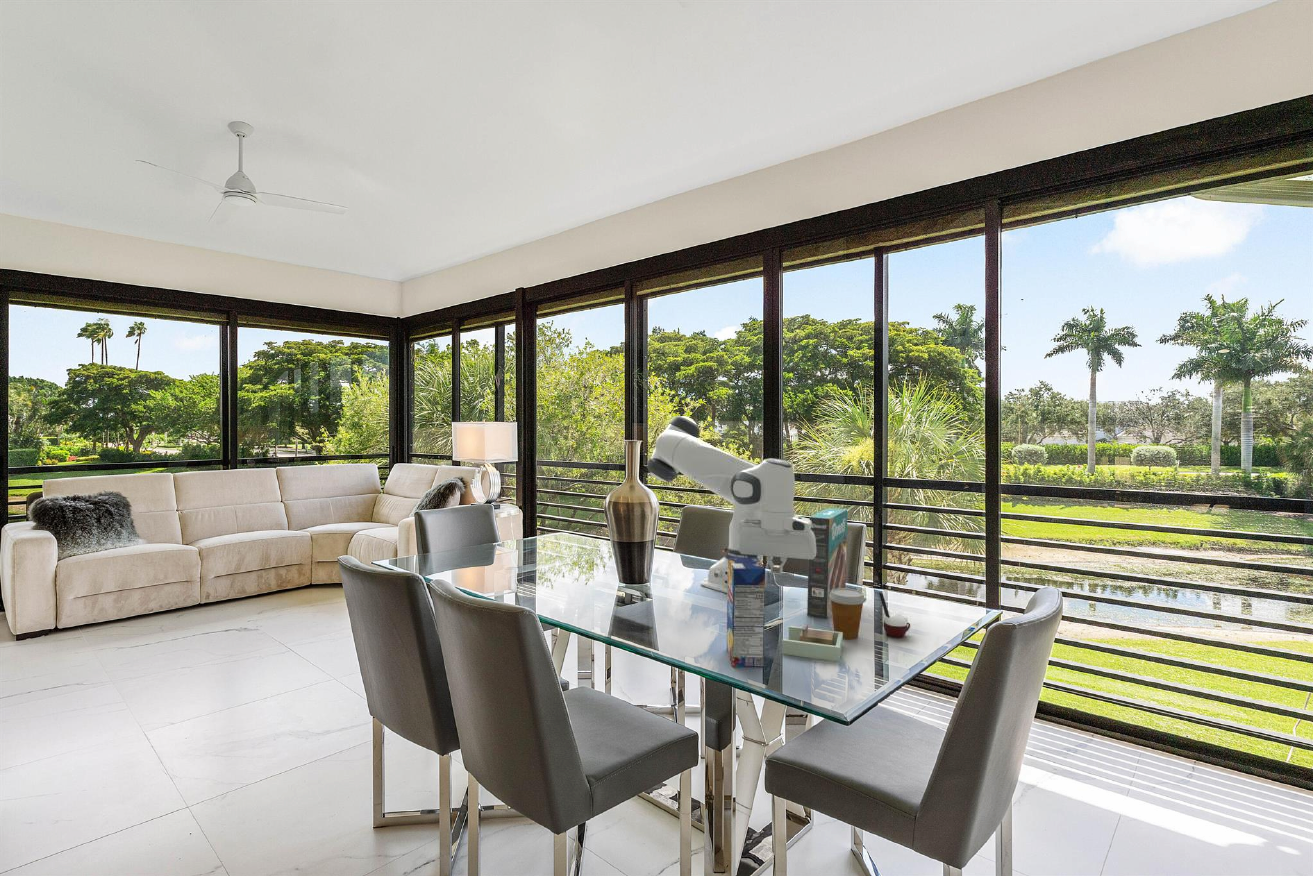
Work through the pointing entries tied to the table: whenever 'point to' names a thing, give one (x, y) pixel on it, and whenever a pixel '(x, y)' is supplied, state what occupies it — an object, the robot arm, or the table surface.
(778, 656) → the table surface
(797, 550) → the robot arm
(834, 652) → the bay
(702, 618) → the table surface
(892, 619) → the cocoa
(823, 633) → the cart
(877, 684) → the table surface
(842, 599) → the disposable coffee cup
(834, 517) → the cake mix box
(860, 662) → the table surface
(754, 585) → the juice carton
